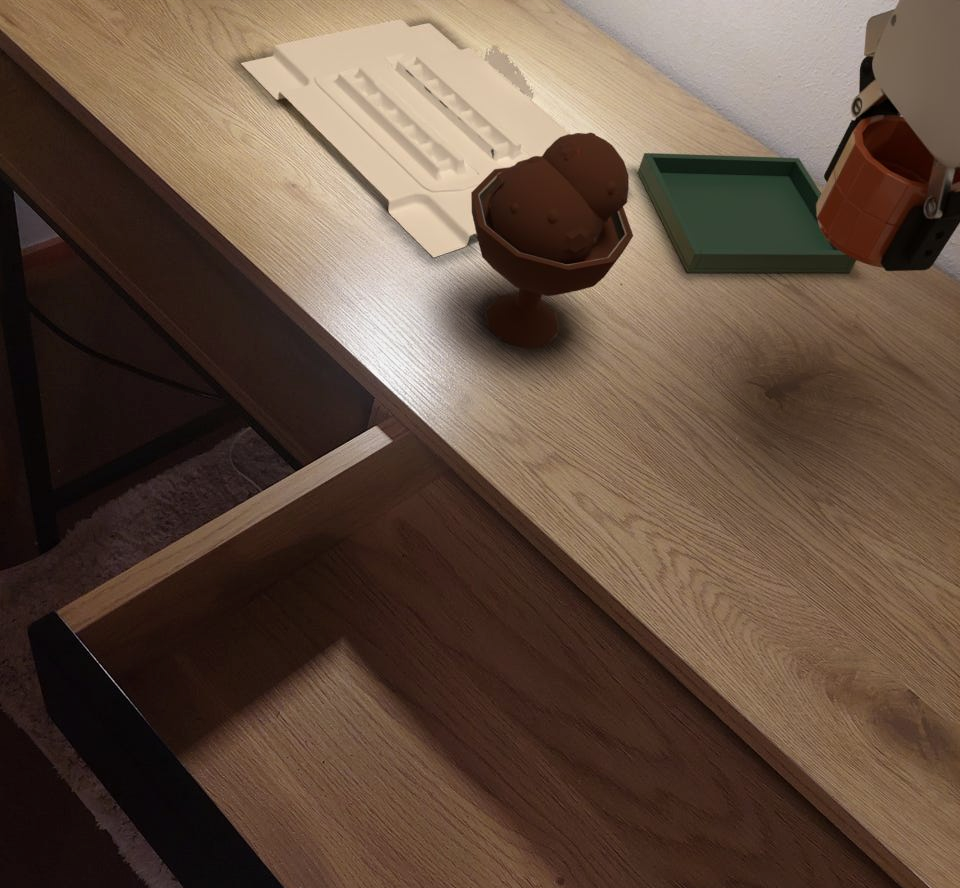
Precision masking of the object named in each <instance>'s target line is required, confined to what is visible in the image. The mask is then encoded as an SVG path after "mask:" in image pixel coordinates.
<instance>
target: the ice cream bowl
mask: <svg viewBox="0 0 960 888" xmlns="http://www.w3.org/2000/svg"><path fill="white" fill-rule="evenodd" d="M629 177H630V176H629V173H628V169H627V166H626V163H625V161H624V159H623V158H622V156H621V155H620V154H619V152H618V151H617V149H616V148H615V147H614V145H613V144H612V143H610V142H608V141H607V140H606V139H604V138H603V137H601V136H599V135H596V134H595V133H594V132H587V133H585V132H584V133H582V132H575V133H570V134H568V135H565V136H562V137H560V138H558V139H557V140H556V141H554V143H553V144H552V145H551V146H550V147H549V148H547V150H546V151H545V153H544V154H543V156H534V157H531V158H530V159H526V160H523V161H520V162H517V163H516V164H515V165H514V166H511V167H507V168H500V169H494V170H493V171H492V172H491V173H490V174H489V175H488V176H487V177H486V178H485V179H484V180H483V181H482V182H481V183H480V184H479V185H478V186H477V187H476V188H475V189H474V190H473V191H472V192H471V202H472V216H473V221H474V225H475V230H476V234H475V235H476V239H477V242H478V246H479V251H480V253H481V257H482V258H483V259H484V261H485V262H486V263H487V264H488V265H489V266H490V267H491V268H492V269H493V270H494V271H495V272H496V273H498V274H499V275H500V276H502V277H503V278H504V279H505V280H506V281H508V282H509V283H510V284H511V285H512V286H513V287H514V288H517V289H518V290H517V291H513V292H509V293H504V294H498V295H497V297H496V298H494V300H493V301H492V302H491V304H490V305H489V306H488V308H487V309H486V310H485V311H484V312H485V317H486V321H487V327H488V329H489V330H490V331H491V332H492V333H494V335H496V336H497V337H498V338H500V339H501V340H502V341H504V343H506V344H509V345H515V346H518V347H522V348H525V349H532V348H535V347H541V346H546V345H549V344H550V343H551V342H552V340H554V338H555V337H556V335H557V334H558V333H559V323H558V319H557V316H556V312H555V309H553V307H551V306H550V305H549V304H548V303H546V302H545V301H544V300H543V299H542V297H543V296H547V297H553V296H558V295H562V294H568V293H573V292H579V291H582V290H585V289H589V288H593V287H595V286H596V285H597V284H598V283H599V282H601V280H603V279H604V278H605V277H606V276H607V274H608V273H609V272H610V270H611V269H612V268H613V266H614V265H615V263H616V262H617V261H618V260H619V258H620V257H621V255H622V254H623V253H624V252H625V250H626V249H627V247H628V245H629V244H630V242H631V240H632V239H633V237H634V234H633V231H632V229H631V225H630V223H629V222H630V221H629V219H628V217H627V214H626V211H625V208H624V206H625V205H626V204H627V203H628V197H629V196H628V195H629V190H630V189H629V186H630V185H629V184H630V183H629V179H630V178H629Z"/></svg>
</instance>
